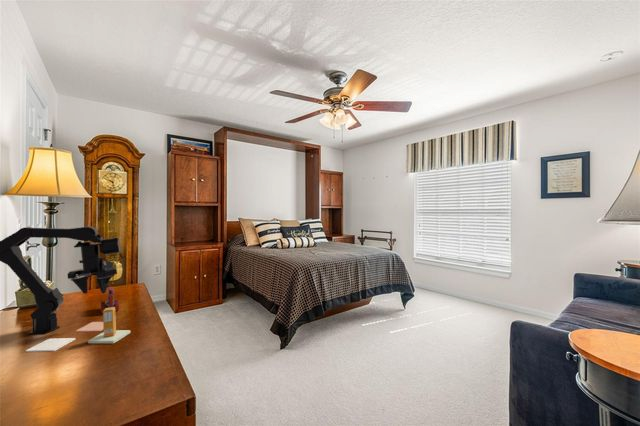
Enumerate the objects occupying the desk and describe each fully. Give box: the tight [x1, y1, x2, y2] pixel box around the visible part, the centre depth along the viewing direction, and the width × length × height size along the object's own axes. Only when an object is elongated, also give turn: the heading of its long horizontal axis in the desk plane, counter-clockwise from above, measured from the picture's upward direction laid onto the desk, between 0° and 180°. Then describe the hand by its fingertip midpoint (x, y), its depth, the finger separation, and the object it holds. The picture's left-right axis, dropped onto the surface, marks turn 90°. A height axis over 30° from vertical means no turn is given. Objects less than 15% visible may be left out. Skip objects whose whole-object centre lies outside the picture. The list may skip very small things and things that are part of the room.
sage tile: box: [87, 329, 131, 344], centre depth 105 cm, size 9×9×1 cm
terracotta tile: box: [75, 321, 104, 333], centre depth 115 cm, size 9×9×1 cm
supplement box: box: [102, 307, 117, 337], centre depth 105 cm, size 3×3×10 cm
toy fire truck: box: [100, 286, 120, 314], centre depth 135 cm, size 7×12×10 cm, turn 38°
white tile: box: [25, 337, 76, 353], centre depth 99 cm, size 9×9×1 cm
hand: (94, 293), depth 118 cm, fingers open, 9 cm apart
